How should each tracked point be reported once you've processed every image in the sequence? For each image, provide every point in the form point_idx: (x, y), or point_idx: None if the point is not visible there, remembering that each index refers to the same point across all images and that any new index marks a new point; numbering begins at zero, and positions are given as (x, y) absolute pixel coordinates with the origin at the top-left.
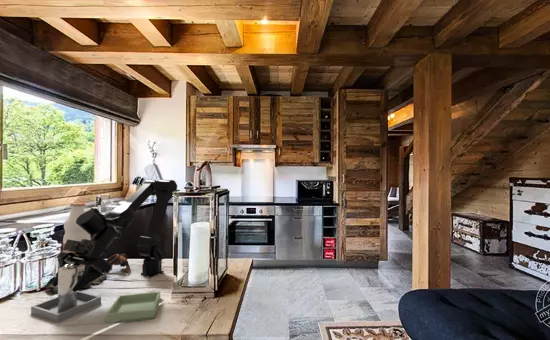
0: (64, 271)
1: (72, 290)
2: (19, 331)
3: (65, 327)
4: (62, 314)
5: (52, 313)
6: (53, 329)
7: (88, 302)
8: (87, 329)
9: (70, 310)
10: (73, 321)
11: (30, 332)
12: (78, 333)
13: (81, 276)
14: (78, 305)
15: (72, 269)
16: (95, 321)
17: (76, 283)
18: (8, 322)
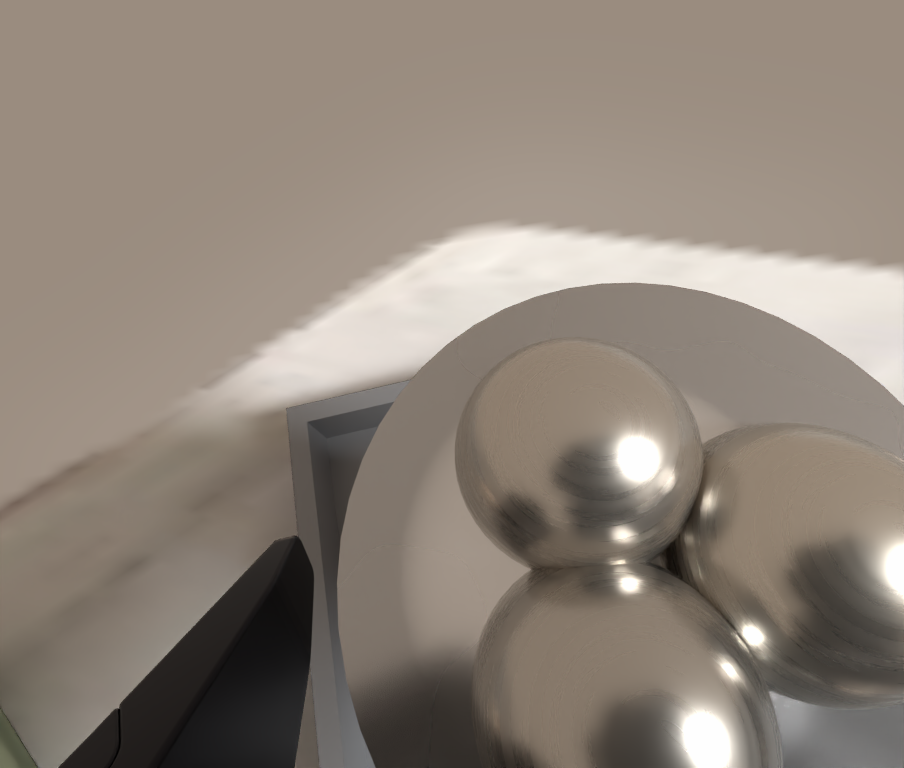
0: (427, 386)
1: (297, 539)
2: (432, 270)
3: (229, 450)
4: (294, 444)
5: (363, 392)
6: (275, 394)
7: (316, 710)
8: (54, 536)
9: (298, 509)
10: (265, 519)
11: (362, 303)
12: (68, 475)
13: (143, 746)
14: (322, 597)
15: (349, 612)
16: (101, 632)
17: (245, 602)
18: (626, 255)
